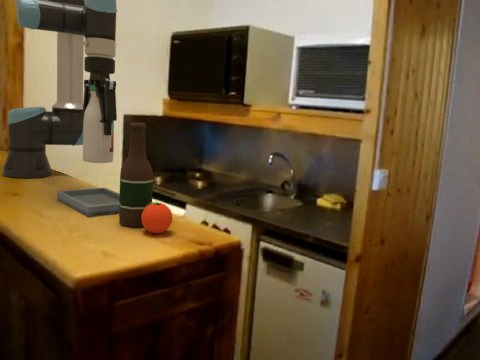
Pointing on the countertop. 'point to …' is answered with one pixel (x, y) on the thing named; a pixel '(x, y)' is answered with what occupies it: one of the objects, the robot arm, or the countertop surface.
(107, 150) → the milk bottle
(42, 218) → the countertop surface
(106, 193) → the slate tray
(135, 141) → the beer bottle
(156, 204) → the tomato
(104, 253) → the countertop surface
